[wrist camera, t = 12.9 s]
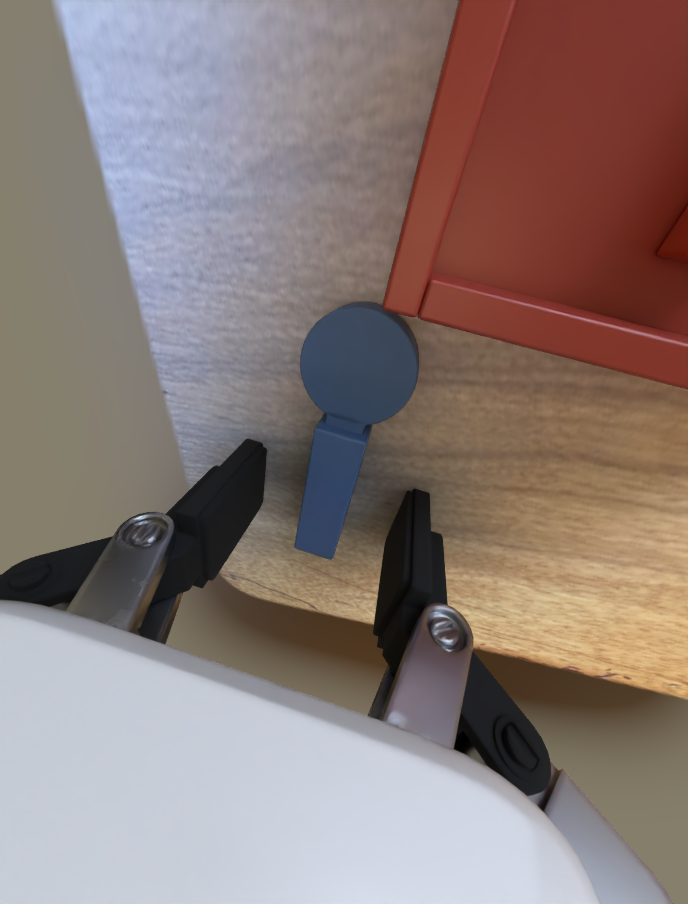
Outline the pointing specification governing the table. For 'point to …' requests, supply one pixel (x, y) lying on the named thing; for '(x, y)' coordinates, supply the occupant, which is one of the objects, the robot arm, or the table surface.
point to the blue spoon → (349, 407)
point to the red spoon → (677, 241)
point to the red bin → (556, 184)
